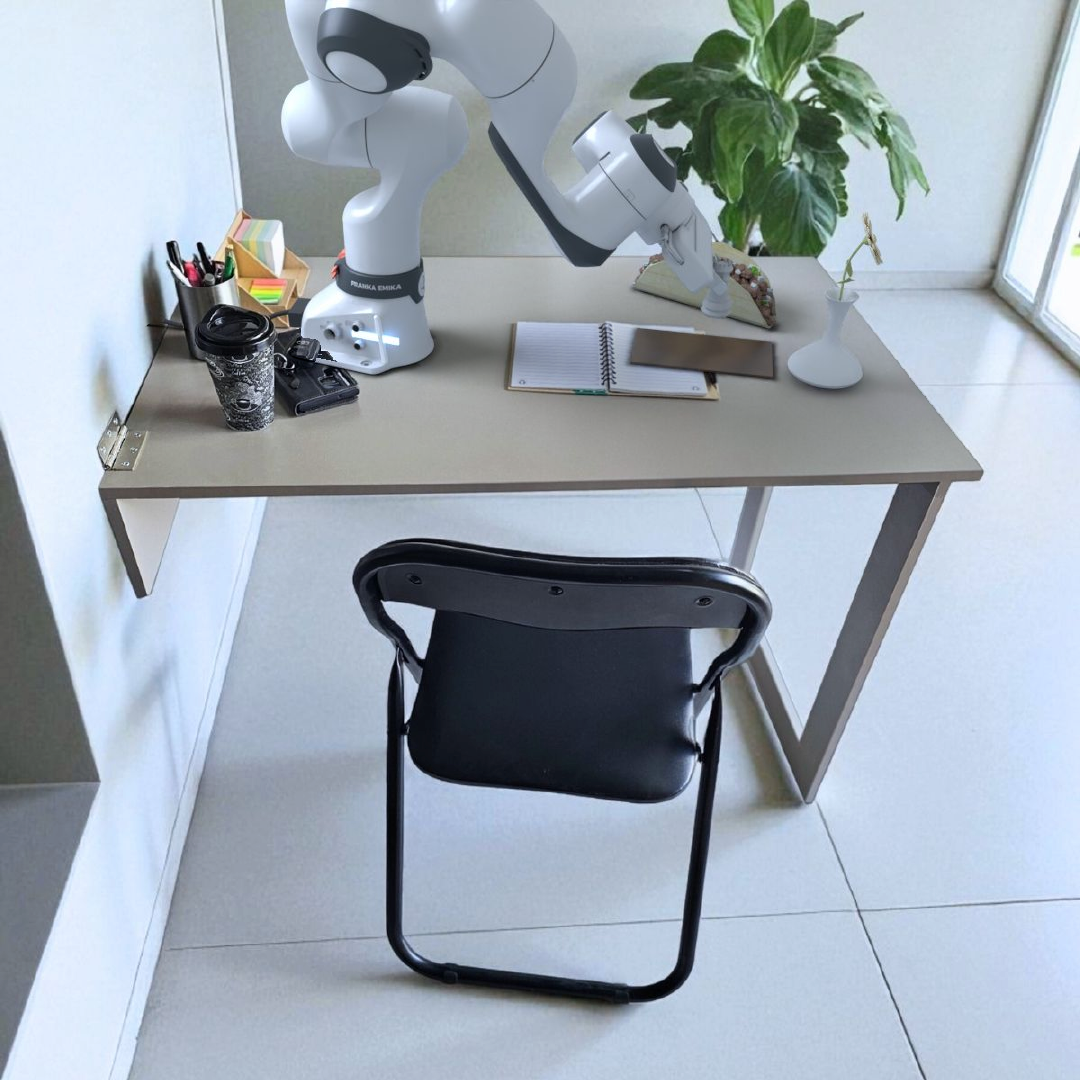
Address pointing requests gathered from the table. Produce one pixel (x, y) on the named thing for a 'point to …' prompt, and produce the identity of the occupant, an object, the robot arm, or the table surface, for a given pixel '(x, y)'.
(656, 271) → the taco
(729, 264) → the rook chess piece
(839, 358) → the flower in vase
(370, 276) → the robot arm
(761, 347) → the brown wooden board
